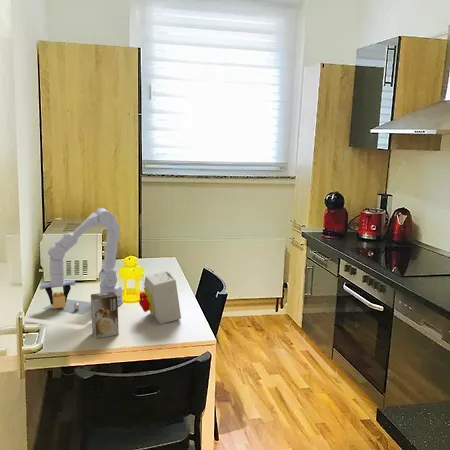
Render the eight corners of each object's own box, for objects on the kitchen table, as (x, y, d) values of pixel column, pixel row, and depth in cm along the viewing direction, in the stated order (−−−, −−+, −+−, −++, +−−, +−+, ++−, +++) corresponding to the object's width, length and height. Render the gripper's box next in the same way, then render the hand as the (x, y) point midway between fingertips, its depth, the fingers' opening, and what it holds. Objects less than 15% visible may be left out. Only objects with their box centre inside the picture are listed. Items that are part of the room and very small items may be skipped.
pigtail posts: (80, 309, 215) (79, 303, 214) (77, 311, 213) (77, 304, 212) (57, 307, 217) (57, 300, 217) (55, 308, 216) (54, 302, 215)
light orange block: (63, 303, 219) (62, 290, 218) (65, 306, 215) (65, 293, 214) (51, 305, 217) (50, 291, 216) (53, 308, 213) (53, 295, 212)
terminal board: (100, 306, 223) (100, 303, 223) (83, 317, 210) (83, 314, 210) (61, 301, 228) (61, 298, 228) (42, 312, 215) (42, 308, 215)
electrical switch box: (139, 318, 216) (131, 275, 211) (171, 309, 221) (165, 267, 216) (147, 331, 203) (139, 286, 198) (181, 321, 208) (175, 277, 203)
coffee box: (114, 329, 199) (113, 290, 196) (119, 334, 194) (118, 295, 190) (91, 332, 195) (90, 294, 192) (95, 339, 189) (94, 299, 186)
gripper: (72, 268, 220) (73, 297, 223) (37, 272, 213) (39, 302, 216) (75, 272, 214) (76, 302, 217) (40, 276, 207) (42, 307, 210)
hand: (58, 302), depth 216 cm, fingers closed on light orange block, 5 cm apart
